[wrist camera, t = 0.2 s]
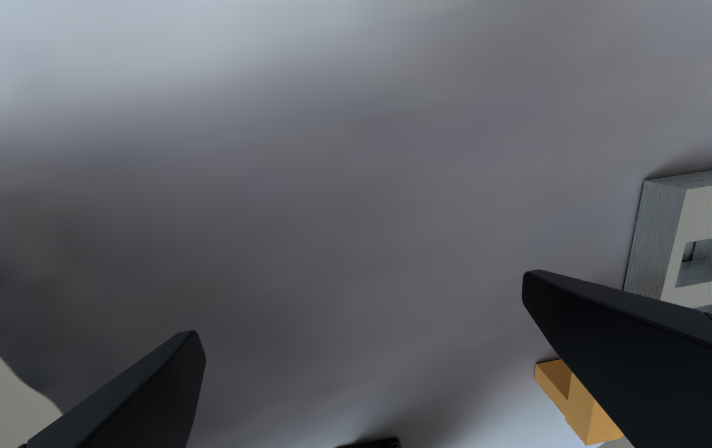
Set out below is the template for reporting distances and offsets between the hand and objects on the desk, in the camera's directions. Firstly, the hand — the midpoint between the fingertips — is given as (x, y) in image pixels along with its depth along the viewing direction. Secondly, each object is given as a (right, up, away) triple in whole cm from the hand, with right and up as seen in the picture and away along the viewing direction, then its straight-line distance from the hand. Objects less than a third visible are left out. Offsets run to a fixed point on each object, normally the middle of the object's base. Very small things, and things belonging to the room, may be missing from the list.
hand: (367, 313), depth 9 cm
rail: (+26, -2, +19) cm, 33 cm away
